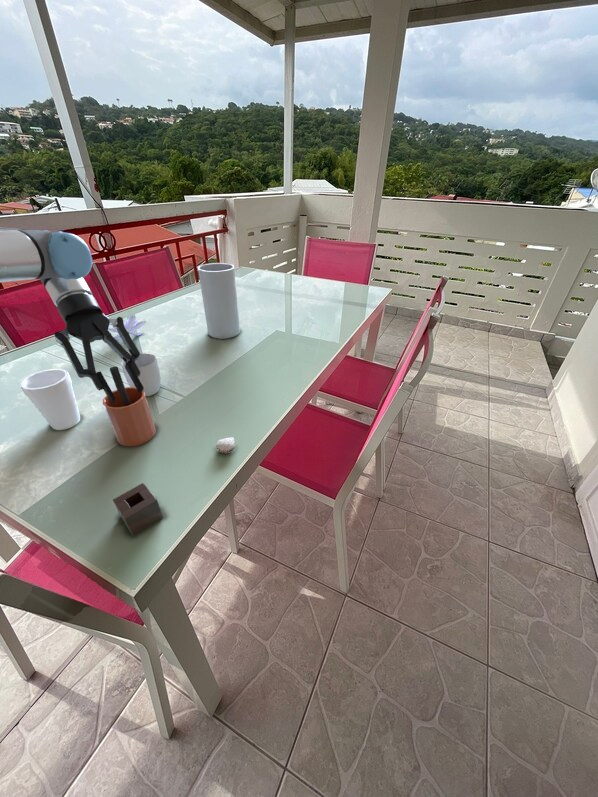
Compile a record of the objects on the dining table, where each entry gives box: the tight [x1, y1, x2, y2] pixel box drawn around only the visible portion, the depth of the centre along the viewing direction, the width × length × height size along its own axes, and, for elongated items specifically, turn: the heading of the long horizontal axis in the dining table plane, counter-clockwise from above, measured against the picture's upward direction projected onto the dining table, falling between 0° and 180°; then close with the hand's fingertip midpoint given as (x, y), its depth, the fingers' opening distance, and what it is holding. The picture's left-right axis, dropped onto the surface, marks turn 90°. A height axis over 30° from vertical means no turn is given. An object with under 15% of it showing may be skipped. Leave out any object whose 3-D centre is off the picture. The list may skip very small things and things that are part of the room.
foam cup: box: [19, 368, 81, 431], centre depth 80 cm, size 10×9×13 cm
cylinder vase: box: [197, 262, 241, 340], centre depth 124 cm, size 12×12×25 cm
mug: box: [120, 352, 162, 397], centre depth 95 cm, size 13×9×10 cm
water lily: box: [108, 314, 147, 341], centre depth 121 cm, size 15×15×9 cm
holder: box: [112, 482, 164, 537], centre depth 60 cm, size 6×6×5 cm
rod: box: [109, 366, 131, 407], centre depth 75 cm, size 2×2×18 cm
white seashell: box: [215, 437, 236, 454], centre depth 76 cm, size 4×5×2 cm
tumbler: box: [102, 386, 157, 447], centre depth 77 cm, size 9×9×11 cm
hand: (127, 395), depth 71 cm, fingers open, 5 cm apart
